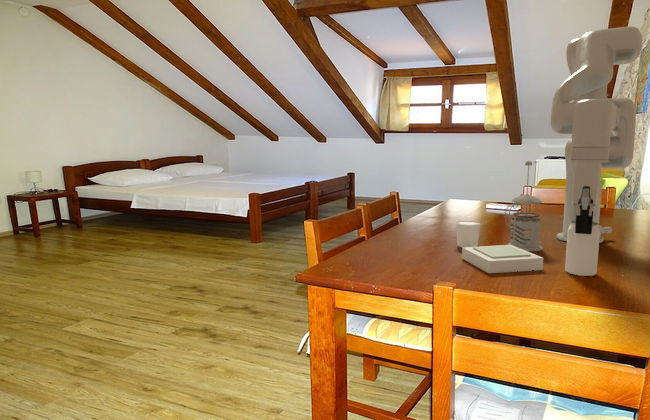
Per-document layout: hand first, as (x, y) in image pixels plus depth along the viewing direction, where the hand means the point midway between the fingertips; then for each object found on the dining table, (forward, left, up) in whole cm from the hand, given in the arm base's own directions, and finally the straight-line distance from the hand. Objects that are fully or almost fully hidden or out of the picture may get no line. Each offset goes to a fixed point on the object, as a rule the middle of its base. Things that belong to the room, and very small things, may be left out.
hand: (583, 230), depth 104 cm
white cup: (+13, -32, -11) cm, 36 cm away
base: (+14, -12, -10) cm, 21 cm away
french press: (-2, -28, -11) cm, 30 cm away
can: (0, -1, -11) cm, 11 cm away
